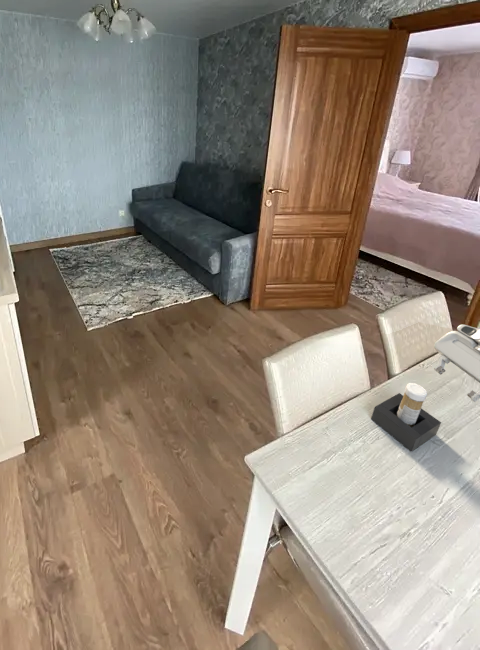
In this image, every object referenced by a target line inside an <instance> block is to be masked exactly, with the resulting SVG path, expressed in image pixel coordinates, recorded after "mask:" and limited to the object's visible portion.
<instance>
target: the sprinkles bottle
mask: <svg viewBox="0 0 480 650" xmlns="http://www.w3.org/2000/svg"><path fill="white" fill-rule="evenodd" d="M427 396H428V391H427V390H426V389H425V388H424V387H423V386H422V385H420V384H418V383H415V382H409V383H407V384H406V385H405V388H404V393H403V399H402V401H401V403H400V406H399V409H398V412H397V415H396V416H397V417H398V418H400V419H401V420H402V421H404V422H405V423H406V424H407V425H409V426H410V427H411V428H412V427H414V425H415V423H416V421H417V418H418V415H419V413H420V410H421V409H422V407H423V404H424V402H425V401H426V399H427Z"/></svg>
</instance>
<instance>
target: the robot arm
mask: <svg viewBox="0 0 480 650" xmlns="http://www.w3.org/2000/svg"><path fill="white" fill-rule="evenodd" d="M433 348H434V349H435V351H436V352H437V353H438V354H439V355H440V357H439V359H438V363H437V365H436V366H435V367H433V370H434V371H435V372H436V373H437V374H438V375H443V373H445V372H446V369H445V365H446V364H447V365H448V364H449V363H452V364H453V365H455V366H456V367H457V368H459V369H460V370H461V371H463V372H464V373H465V374H466V375H468V376H470V377H471V378H472V379H474V380H475V381H476V382H477V383H479V384H480V328H478V327H473V326H470V325H467V324H462V323H461V324H459V325H458V326H457V328H456V330H451V331H448V332H447V333H445V334H444V335H442V336H441V337H439V338H438V339H437V340H436V341H435V342H434V344H433ZM466 396H467V397H468V398H469V400H471V401H472V402H474V403H476V402H477V401H478V400H480V391H474V390H473V389H472V390H470V391H469V392H468V393H467V394H466Z"/></svg>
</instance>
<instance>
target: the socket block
mask: <svg viewBox="0 0 480 650" xmlns="http://www.w3.org/2000/svg"><path fill="white" fill-rule="evenodd" d="M403 396H404V394H401V392H398V393H396V394H395V395H394V396H391V397H390V398H388V399H386V400H384V401H383V402H380V403H379V404H377V405H375V406H374V407H373V411H372V414H371V417H370V419H371V421H373V422H374V423H375V424H376V425H378V426H379V427H380V428H381V429H383V430H384V431H385V432H386V433H387V434H388V435H389V436H391V437H392V438H393V439H395V440H396V441H397V442H398V443H399V444H400V445H402V446H403V447H404V448H405V449H407V450H408V451H409V452H410V453H412V452H413V451H415V450H417V449H418V448H420V446H422V445H424V444H425V443H426V442H428V441H430V440H431V439H432V438H434V437H435V436H437V434H438V431H439V429H440V426H441V424H442V422H441V421H440V420H439V419H437V418H436V417H434V416H433V415H432V414H430V413H429V412H427V411H426V410H425V409H423V408H421V410H420V413H419V415H418V418H417V421H416V423H415V425H414V427H412V428H411V427H410V426H409V425H407V424H406V423H405V422H404V421H402V420H401V419H400V418H398V417H397V412H398V409H399V406H400V403H401V401H402V399H403Z"/></svg>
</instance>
